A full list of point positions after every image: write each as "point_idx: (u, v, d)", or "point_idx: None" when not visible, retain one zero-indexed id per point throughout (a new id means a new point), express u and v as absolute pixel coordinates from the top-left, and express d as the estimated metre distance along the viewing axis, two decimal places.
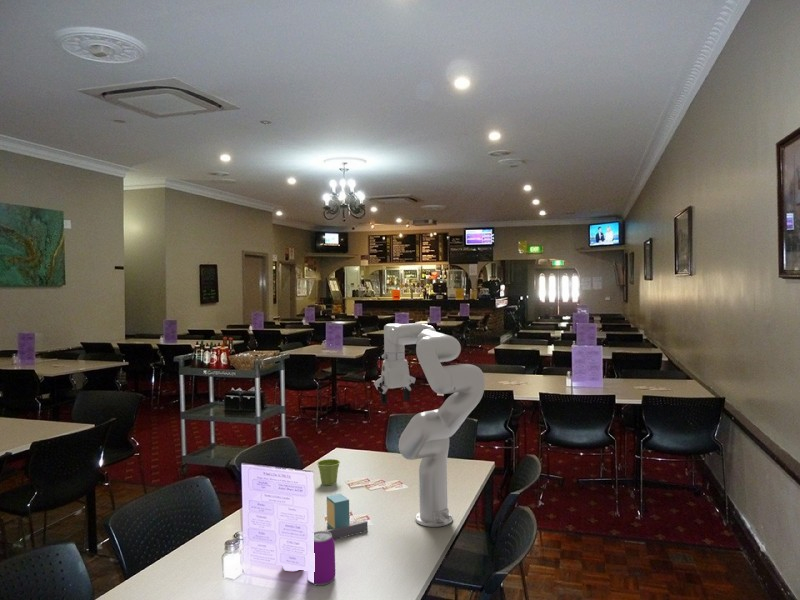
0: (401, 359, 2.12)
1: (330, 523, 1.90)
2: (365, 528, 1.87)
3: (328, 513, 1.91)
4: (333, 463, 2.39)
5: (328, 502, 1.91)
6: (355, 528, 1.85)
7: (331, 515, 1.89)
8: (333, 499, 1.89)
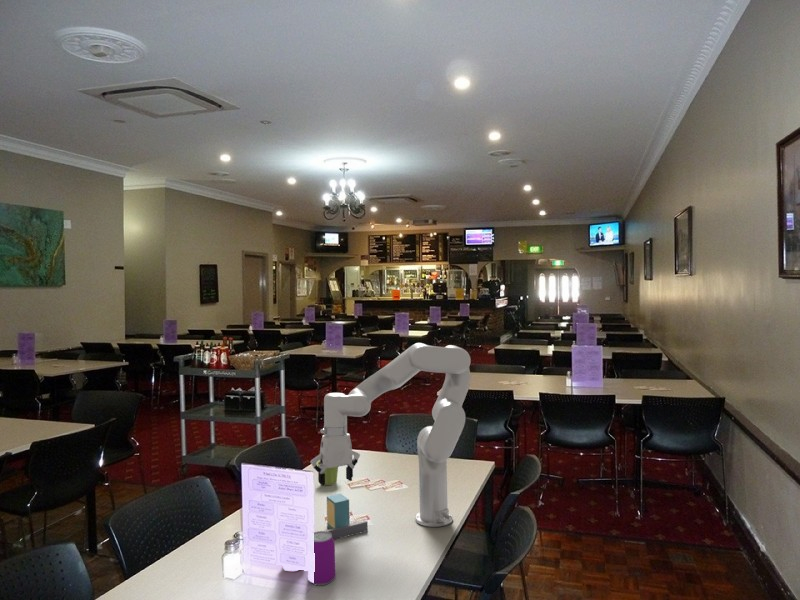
0: (342, 435, 1.88)
1: (330, 523, 1.90)
2: (365, 528, 1.87)
3: (328, 513, 1.91)
4: None
5: (328, 502, 1.91)
6: (355, 528, 1.85)
7: (331, 515, 1.89)
8: (333, 499, 1.89)
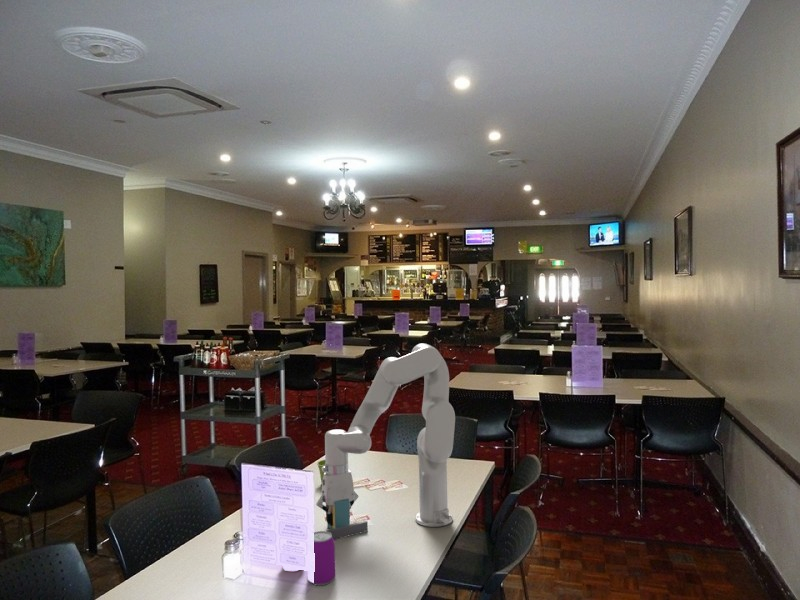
0: (343, 472, 1.88)
1: None
2: (365, 528, 1.87)
3: None
4: None
5: None
6: (355, 528, 1.85)
7: None
8: None
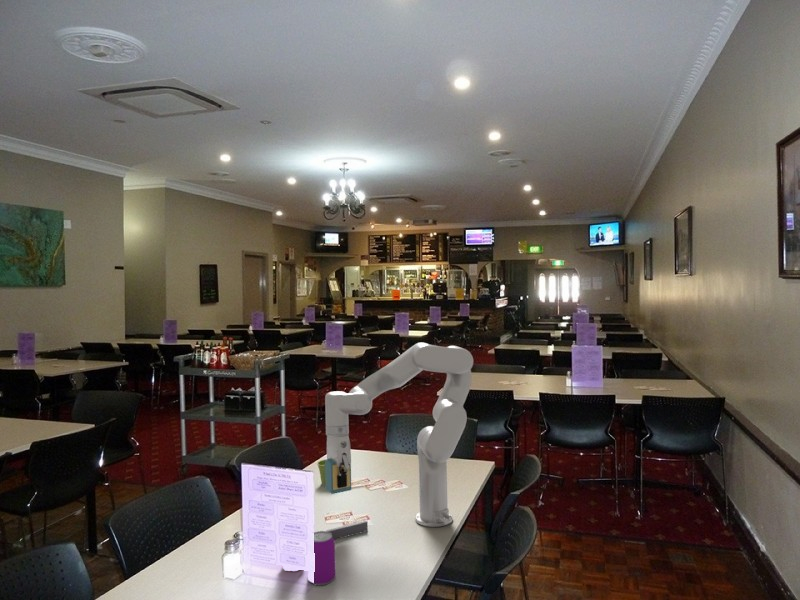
0: None
1: None
2: (365, 528, 1.87)
3: (336, 478, 1.86)
4: None
5: (336, 466, 1.86)
6: (355, 528, 1.85)
7: None
8: None
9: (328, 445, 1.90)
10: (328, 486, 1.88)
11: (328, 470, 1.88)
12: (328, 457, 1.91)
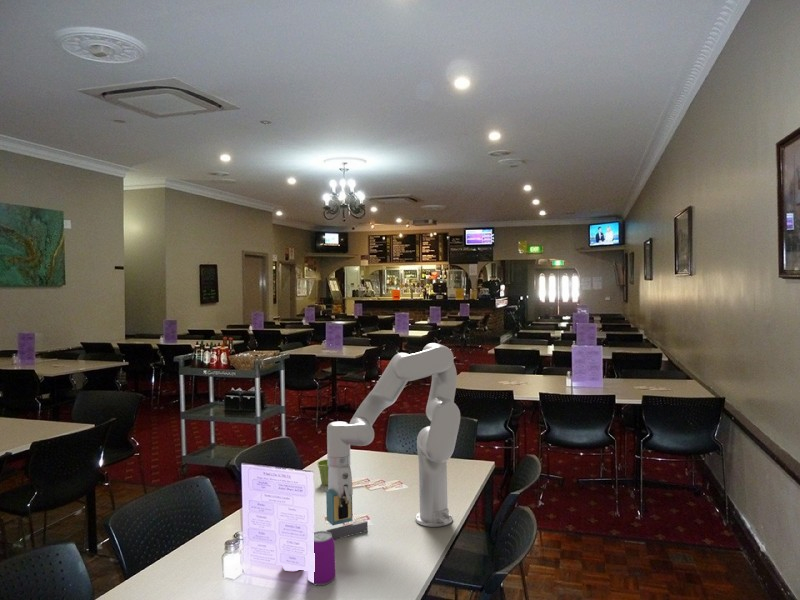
0: None
1: None
2: (365, 528, 1.87)
3: (337, 509, 1.86)
4: None
5: (338, 498, 1.86)
6: (355, 528, 1.85)
7: None
8: None
9: (329, 475, 1.89)
10: (329, 517, 1.87)
11: (329, 501, 1.87)
12: (329, 487, 1.90)
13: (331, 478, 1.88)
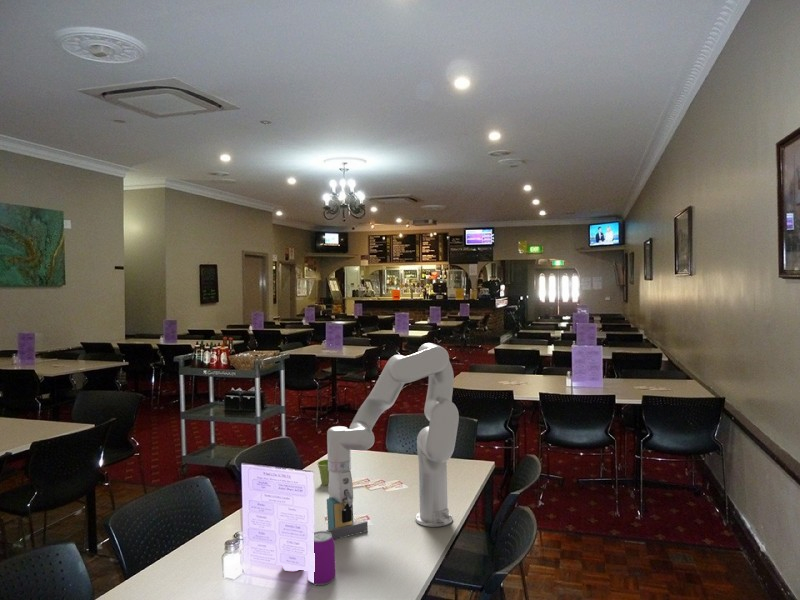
0: None
1: (343, 525, 1.87)
2: (365, 528, 1.87)
3: (338, 517, 1.86)
4: None
5: (338, 505, 1.86)
6: (355, 528, 1.85)
7: None
8: None
9: (330, 480, 1.89)
10: (330, 526, 1.87)
11: (329, 509, 1.88)
12: (330, 492, 1.90)
13: (332, 483, 1.88)
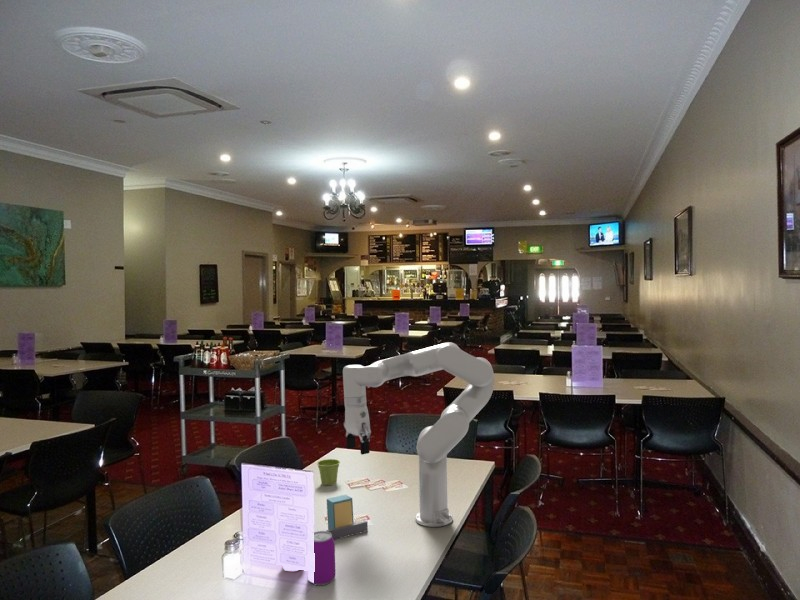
0: None
1: (343, 525, 1.87)
2: (365, 528, 1.87)
3: (338, 517, 1.86)
4: (333, 463, 2.39)
5: (338, 505, 1.86)
6: (355, 528, 1.85)
7: (345, 515, 1.87)
8: (343, 499, 1.88)
9: (347, 416, 1.98)
10: (330, 526, 1.87)
11: (329, 509, 1.88)
12: (347, 428, 1.99)
13: (349, 418, 1.97)
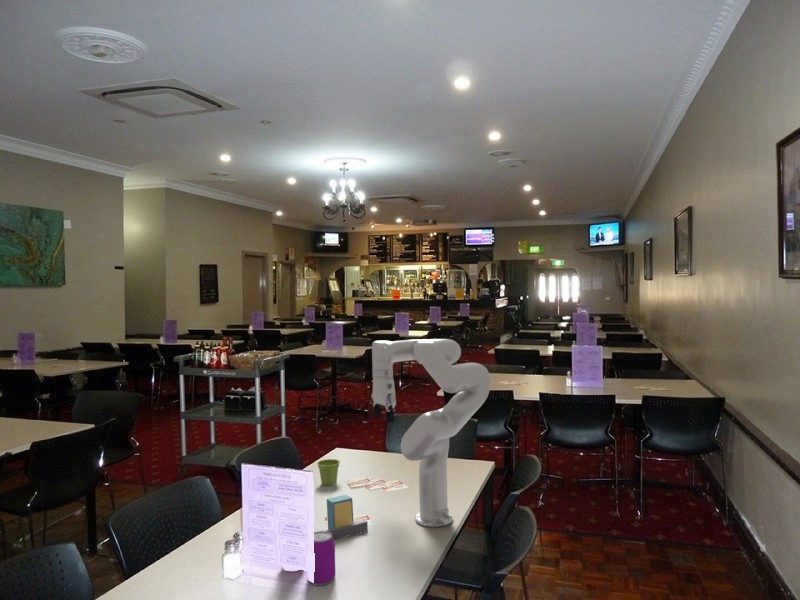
0: None
1: (343, 525, 1.87)
2: (365, 528, 1.87)
3: (338, 517, 1.86)
4: (333, 463, 2.39)
5: (338, 505, 1.86)
6: (355, 528, 1.85)
7: (345, 515, 1.87)
8: (343, 499, 1.88)
9: (374, 388, 2.14)
10: (330, 526, 1.87)
11: (329, 509, 1.88)
12: (374, 398, 2.15)
13: (376, 389, 2.13)
